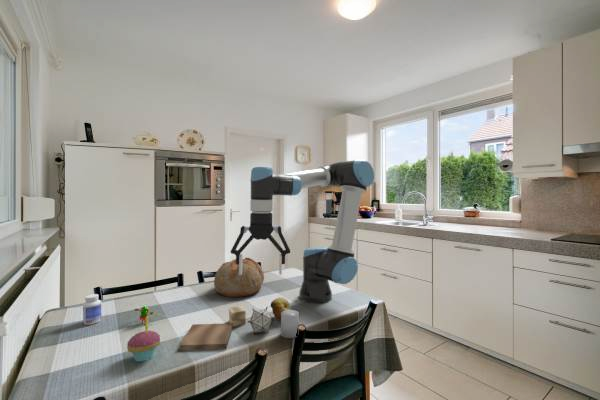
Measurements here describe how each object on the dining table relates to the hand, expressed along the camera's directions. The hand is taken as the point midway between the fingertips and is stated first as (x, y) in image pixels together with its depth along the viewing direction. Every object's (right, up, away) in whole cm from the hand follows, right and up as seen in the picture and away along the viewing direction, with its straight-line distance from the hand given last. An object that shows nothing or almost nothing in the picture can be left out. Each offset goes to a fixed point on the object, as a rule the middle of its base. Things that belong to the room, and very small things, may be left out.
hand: (260, 273), depth 99 cm
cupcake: (-32, -21, -15) cm, 41 cm away
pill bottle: (-63, -20, +7) cm, 66 cm away
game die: (0, -21, +1) cm, 21 cm away
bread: (-16, -20, +45) cm, 52 cm away
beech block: (-10, -20, +8) cm, 24 cm away
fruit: (+6, -20, +11) cm, 24 cm away
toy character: (-43, -20, +6) cm, 48 cm away
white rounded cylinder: (+10, -21, -1) cm, 23 cm away
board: (-17, -20, -4) cm, 27 cm away
